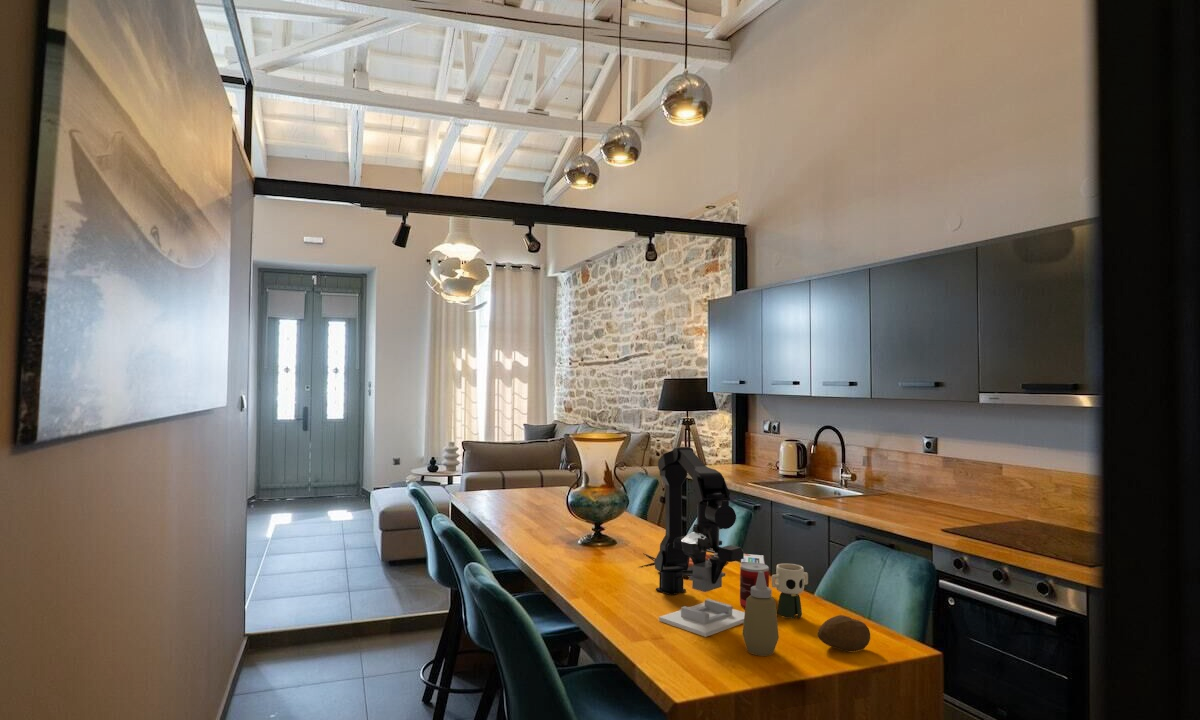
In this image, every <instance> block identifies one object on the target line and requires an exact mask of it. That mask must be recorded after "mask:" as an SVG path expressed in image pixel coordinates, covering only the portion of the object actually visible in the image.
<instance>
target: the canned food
mask: <svg viewBox="0 0 1200 720" xmlns="http://www.w3.org/2000/svg"><path fill="white" fill-rule="evenodd" d="M739 568H740V570H739V604H740V607H741V606H742V607H741V608H743V609H745V607H746V598H748V597H749V596H750V595H751V587H752V586H756V581H757V577H758V573H759V572H764V575H765V580H766V585H767V587H769V588H770V567H769V566H768V565H767V564H766V563H765V564H761V563H744V564H741V563H740V566H739Z"/></svg>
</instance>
